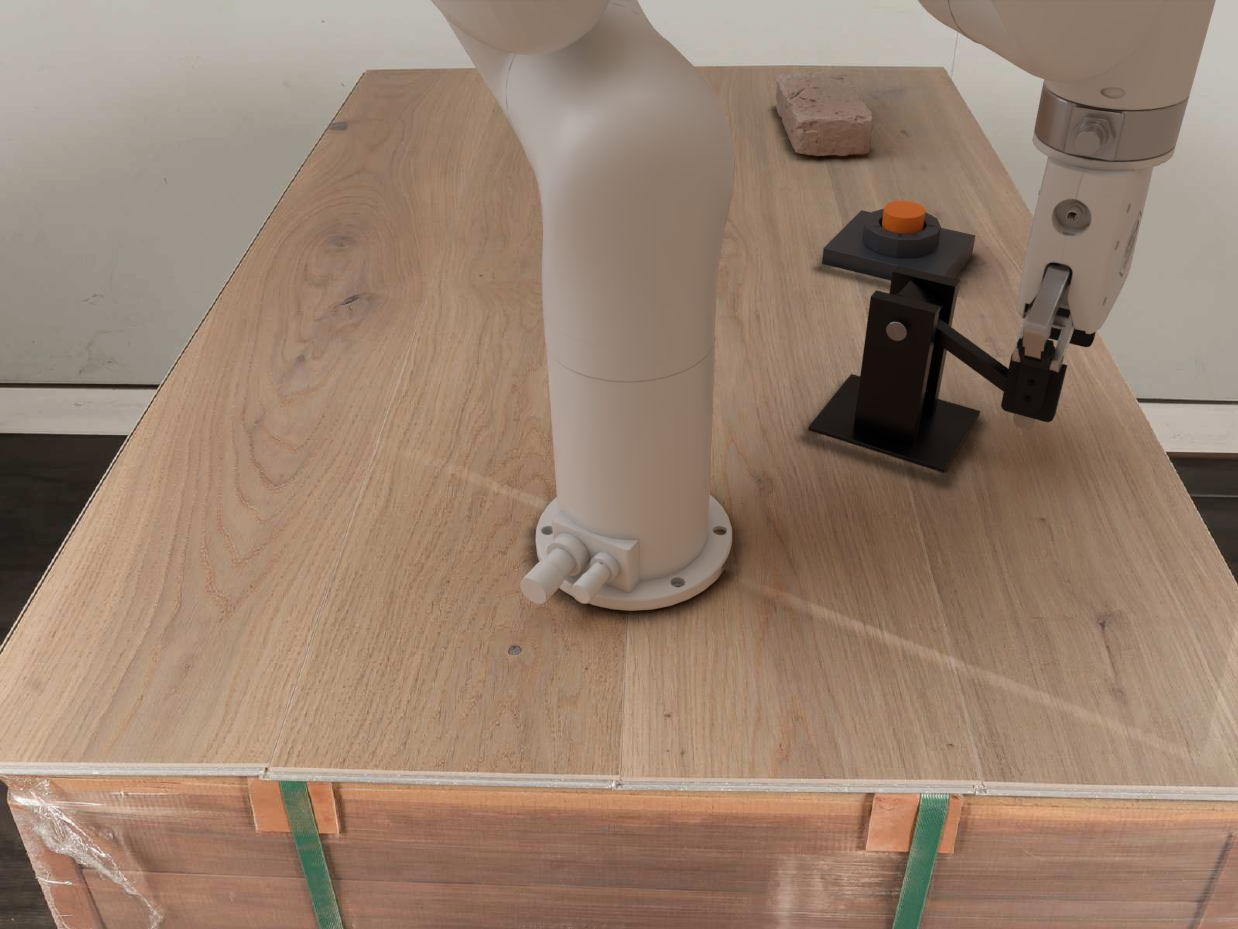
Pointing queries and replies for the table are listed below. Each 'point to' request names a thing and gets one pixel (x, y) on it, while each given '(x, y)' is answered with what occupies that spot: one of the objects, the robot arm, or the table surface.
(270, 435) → the table surface
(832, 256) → the button box
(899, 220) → the button
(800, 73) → the brick
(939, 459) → the bracket
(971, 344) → the lever
